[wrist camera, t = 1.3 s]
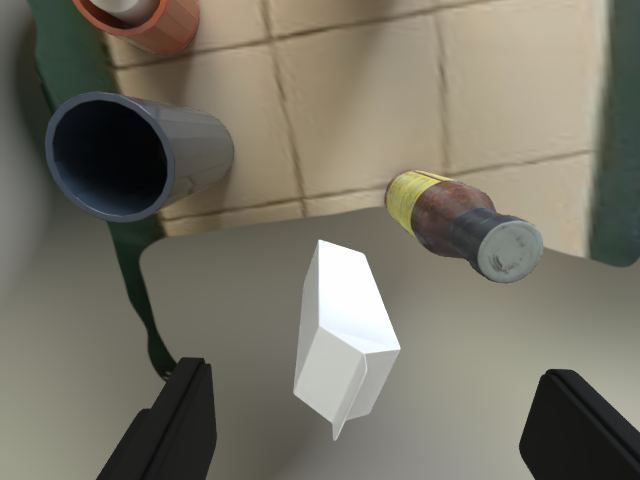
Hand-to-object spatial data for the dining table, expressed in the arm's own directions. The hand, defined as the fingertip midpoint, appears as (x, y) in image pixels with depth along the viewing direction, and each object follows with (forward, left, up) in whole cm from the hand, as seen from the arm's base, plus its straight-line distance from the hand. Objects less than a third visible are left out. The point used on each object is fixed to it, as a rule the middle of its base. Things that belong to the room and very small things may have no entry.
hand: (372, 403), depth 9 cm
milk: (+8, +4, -31) cm, 32 cm away
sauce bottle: (-4, +8, -31) cm, 32 cm away
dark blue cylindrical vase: (+2, -16, -30) cm, 34 cm away
